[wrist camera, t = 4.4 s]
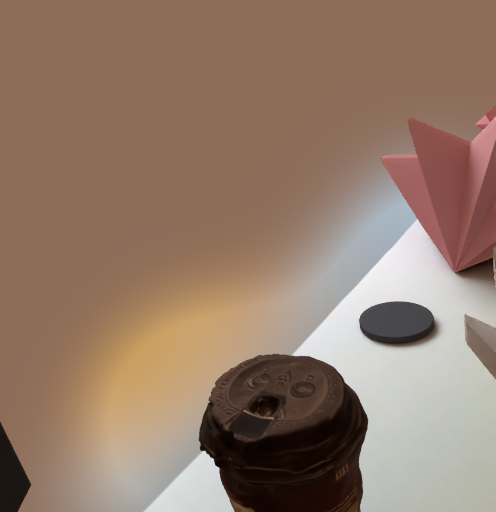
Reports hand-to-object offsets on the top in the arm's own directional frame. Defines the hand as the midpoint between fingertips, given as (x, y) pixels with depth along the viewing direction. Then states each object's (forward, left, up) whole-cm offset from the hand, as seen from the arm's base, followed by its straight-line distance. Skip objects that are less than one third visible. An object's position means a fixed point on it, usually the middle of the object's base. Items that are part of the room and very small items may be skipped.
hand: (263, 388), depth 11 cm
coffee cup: (-10, 0, -20) cm, 22 cm away
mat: (-34, +15, -20) cm, 42 cm away
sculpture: (-62, +29, -15) cm, 70 cm away
